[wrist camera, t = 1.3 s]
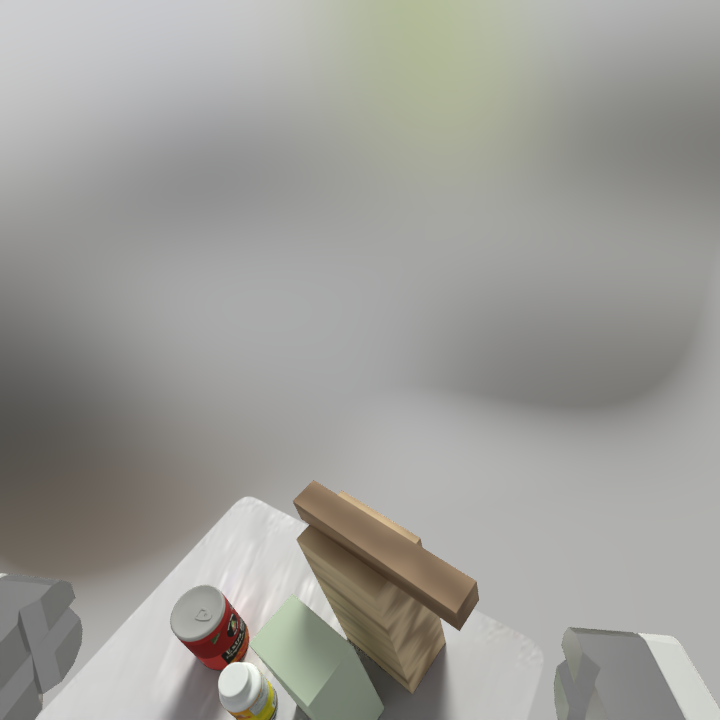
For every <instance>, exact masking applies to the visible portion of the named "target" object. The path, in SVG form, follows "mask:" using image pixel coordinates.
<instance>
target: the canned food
mask: <svg viewBox="0 0 720 720" xmlns="http://www.w3.org/2000/svg"><path fill="white" fill-rule="evenodd" d="M170 624H171V629H172V631H173V633H174V634H175V635H176V636H177V638H178V639H179V640H180V641H181V642H182V643H183V644H184V645H185V646H186V647H187V648H188V649H189V650H190V651H191V652H192V653H193V654H194V655H195V656H196V657H197V658H198V659H199V660H200V661H201V662H202V663H203V664H204V665H205V666H207V667H208V668H211V669H214V670H224V668H225V667H227V666H228V665H229V664H231V663H234V662H238V661H239V660H240V659H241V658H242V657H243V655H244V653H245V652H246V649H247V647H248V643H249V634H248V628H247V626H246V624H245V623H244V621H243V620H242V618H241V617H240V616H239V615H238V613H237V612H236V611H235V609H234V608H233V607H232V605H231V604H230V603H229V601H228V600H227V599H226V597H225V596H224V595H223V594H222V592H221V591H220V590H218V589H217V588H216V587H214V586H211V585H200V586H197V587H194V588H192V589H190V590H189V591H187V592H186V593H185V594H184V595H183V596H182V597H181V598H180V599H179V600H178V601H177V603H176V604H175V606H174V608H173V611H172V613H171V618H170Z"/></svg>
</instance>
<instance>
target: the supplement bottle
mask: <svg viewBox="0 0 720 720" xmlns="http://www.w3.org/2000/svg"><path fill="white" fill-rule="evenodd" d="M218 689H219V698H220V702H221V704H222V705H223V707H224V708H225V709H226V710H227V711H228V712H229V713H230V714H231V715H232V716H234V717H235V718H236V719H237V720H272V719H273V717H274V715H275V713H276V710H277V705H278V697H277V693H276V691H275V689H274V688H273V686H272V685H271V684H270V683H269V681H268V680H267V679H266V678H265V677H264V675H263V674H262V673H261V672H260V671H259V669H258V668H257V667H256V666H254V665H253V664H251V663H247V662H243V663H241V662H234V663H231V664H229V665H228V666H227V667H225V668H224V670H223V671H222V673H221V674H220V677H219V680H218Z"/></svg>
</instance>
